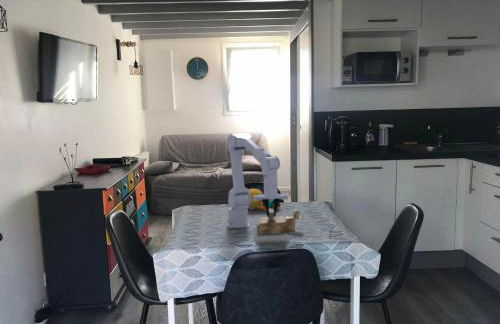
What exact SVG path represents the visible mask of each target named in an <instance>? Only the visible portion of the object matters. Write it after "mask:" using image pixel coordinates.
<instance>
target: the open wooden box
mask: <svg viewBox="0 0 500 324" xmlns="http://www.w3.org/2000/svg"><path fill="white" fill-rule="evenodd" d="M284 220H285V224H283V226H265V227H262V226H261V225H259V222H258V219H256V231H257V234H275V233H284V232H295V231H296V220H286V219H285V218H284Z"/></svg>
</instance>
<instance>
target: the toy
mask: <svg viewBox="0 0 500 324" xmlns="http://www.w3.org/2000/svg"><path fill="white" fill-rule="evenodd" d="M248 190H249V193H250V196H251V203H250V205H249V207H248V209H249V210H251V211H254V210H257V209H258V210H261V211H266V208H265V206H264V204H263V201H262V200H257V201H254V195H264V193H263V192H262V191H261V190H260V189H258V188H248ZM278 194H280V193H279V192H278ZM268 202H269V209H274V206H273V200H268ZM280 208H281V203H279V205H278V208H277V210H278V209H280Z"/></svg>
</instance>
